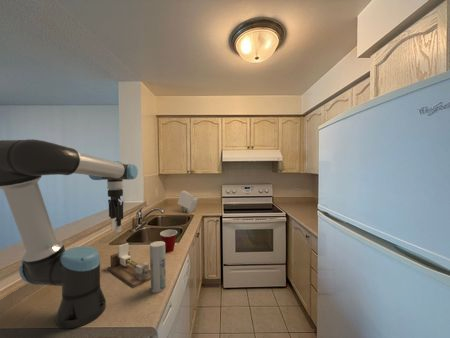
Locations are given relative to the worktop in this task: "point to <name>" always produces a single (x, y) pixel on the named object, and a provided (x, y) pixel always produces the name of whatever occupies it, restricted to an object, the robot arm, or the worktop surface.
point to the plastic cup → (169, 239)
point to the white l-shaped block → (124, 253)
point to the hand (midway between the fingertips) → (116, 230)
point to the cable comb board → (130, 271)
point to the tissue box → (187, 201)
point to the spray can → (157, 266)
